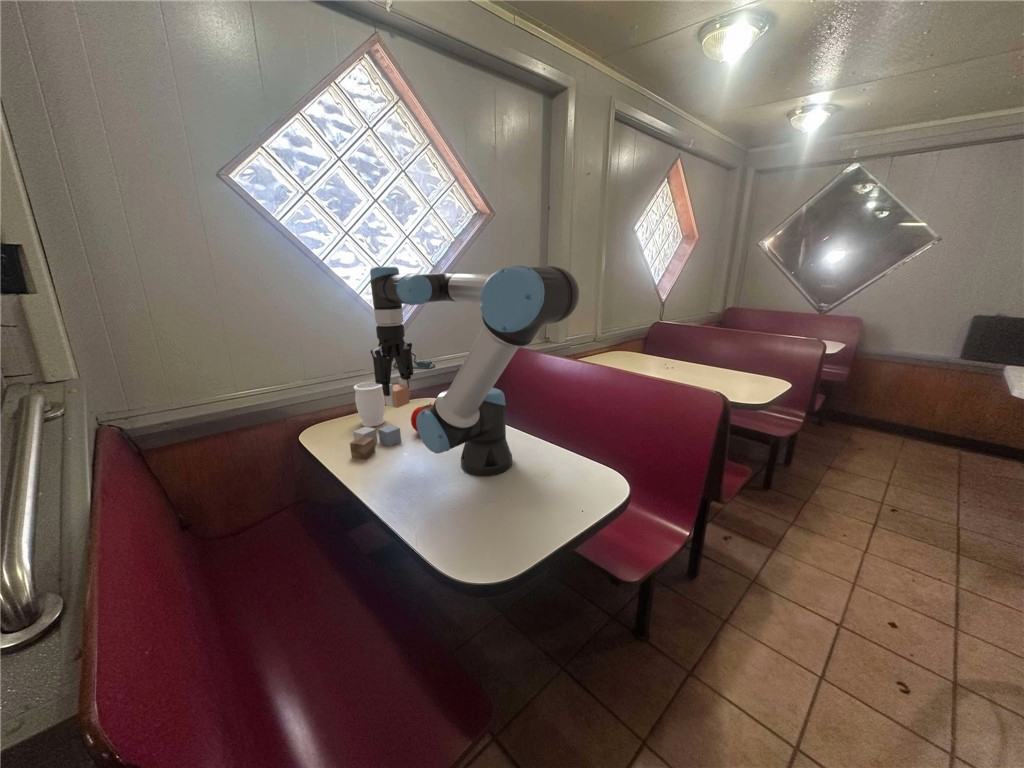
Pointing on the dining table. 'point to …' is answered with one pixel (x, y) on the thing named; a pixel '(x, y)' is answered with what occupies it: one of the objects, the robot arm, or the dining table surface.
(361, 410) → the jar
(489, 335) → the robot arm
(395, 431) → the slate cube
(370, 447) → the walnut cube
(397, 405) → the terracotta cube
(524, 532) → the dining table surface
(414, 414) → the tomato
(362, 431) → the grey cube
